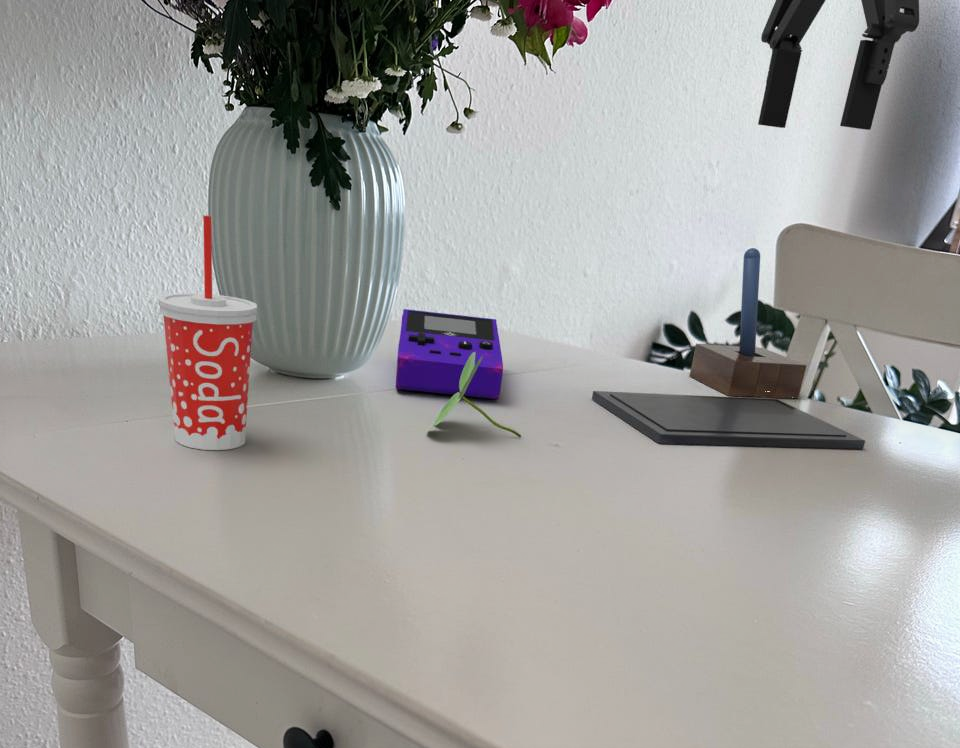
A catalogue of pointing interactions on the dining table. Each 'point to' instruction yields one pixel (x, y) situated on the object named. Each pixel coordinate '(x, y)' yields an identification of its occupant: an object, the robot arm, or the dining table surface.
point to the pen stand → (747, 372)
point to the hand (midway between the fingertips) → (810, 127)
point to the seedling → (463, 385)
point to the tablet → (724, 421)
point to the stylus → (749, 302)
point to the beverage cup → (208, 362)
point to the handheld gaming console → (448, 353)
